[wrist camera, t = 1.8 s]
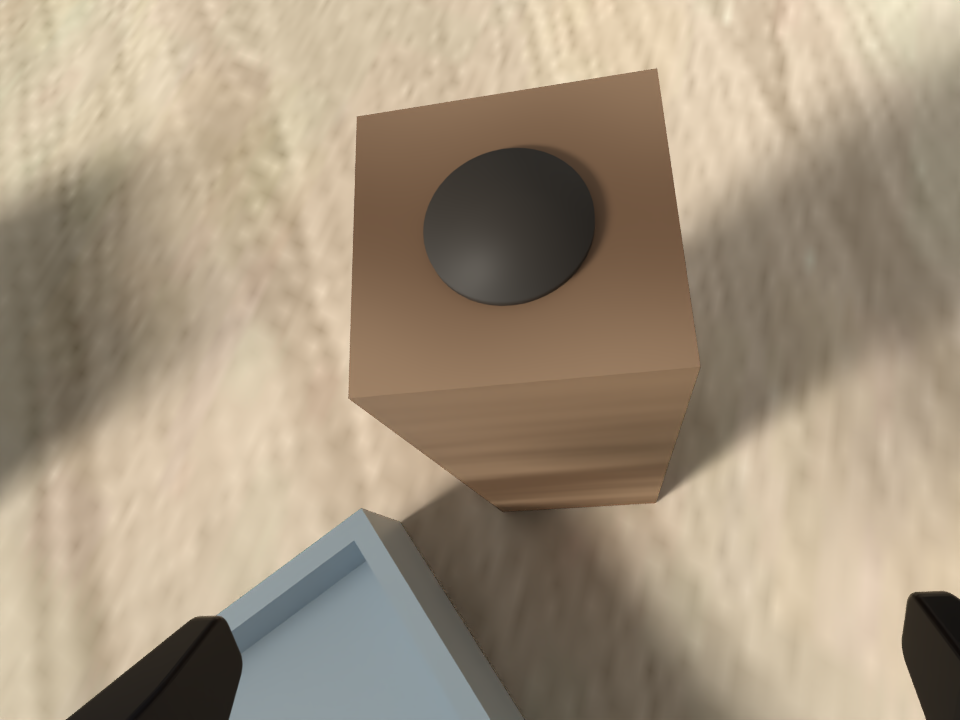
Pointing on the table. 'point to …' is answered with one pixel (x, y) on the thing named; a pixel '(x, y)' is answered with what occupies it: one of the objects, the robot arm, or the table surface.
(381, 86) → the table surface
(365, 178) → the bored block
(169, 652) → the robot arm
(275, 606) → the tray
